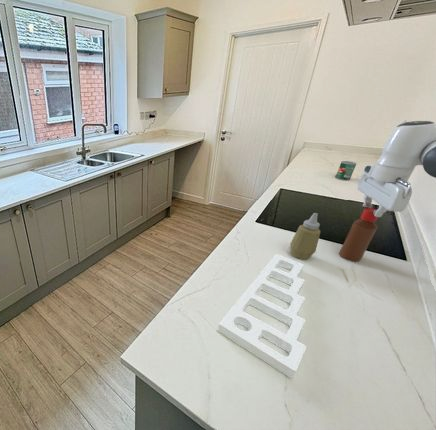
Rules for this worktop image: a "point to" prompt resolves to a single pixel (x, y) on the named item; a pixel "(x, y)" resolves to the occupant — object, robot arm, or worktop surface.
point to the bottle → (358, 240)
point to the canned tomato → (345, 170)
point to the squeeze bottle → (306, 238)
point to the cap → (368, 215)
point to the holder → (262, 329)
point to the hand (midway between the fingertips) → (371, 211)
